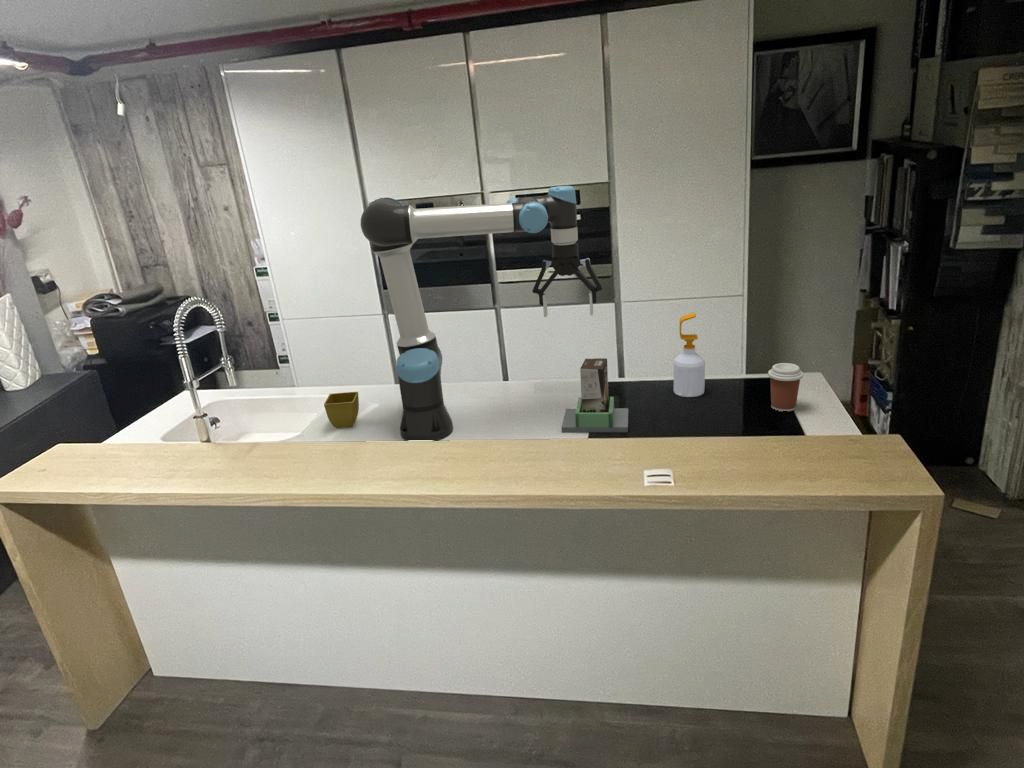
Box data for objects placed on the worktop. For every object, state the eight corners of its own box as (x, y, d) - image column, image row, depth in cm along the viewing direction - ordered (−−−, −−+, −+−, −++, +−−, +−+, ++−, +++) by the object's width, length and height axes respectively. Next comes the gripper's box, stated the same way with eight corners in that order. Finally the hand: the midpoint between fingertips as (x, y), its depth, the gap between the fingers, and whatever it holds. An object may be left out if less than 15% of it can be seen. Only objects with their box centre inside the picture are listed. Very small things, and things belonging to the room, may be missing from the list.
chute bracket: (561, 432, 187) (560, 414, 185) (566, 413, 199) (565, 396, 197) (627, 432, 183) (627, 413, 181) (628, 413, 195) (628, 395, 193)
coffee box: (605, 424, 186) (603, 368, 180) (581, 423, 188) (579, 368, 182) (609, 410, 194) (608, 357, 188) (587, 410, 196) (585, 357, 190)
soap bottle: (705, 397, 201) (707, 317, 192) (674, 397, 203) (674, 318, 194) (703, 386, 209) (704, 309, 200) (673, 387, 211) (673, 310, 202)
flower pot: (363, 418, 208) (358, 390, 205) (358, 429, 200) (353, 401, 197) (334, 420, 208) (329, 393, 205) (328, 432, 200) (323, 404, 197)
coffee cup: (766, 412, 188) (769, 372, 183) (765, 400, 196) (767, 361, 191) (802, 414, 185) (805, 373, 181) (799, 401, 193) (802, 361, 189)
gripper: (609, 238, 193) (611, 310, 201) (523, 242, 198) (528, 313, 205) (608, 242, 186) (610, 317, 194) (519, 247, 191) (525, 319, 198)
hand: (568, 315), depth 200 cm, fingers open, 13 cm apart
